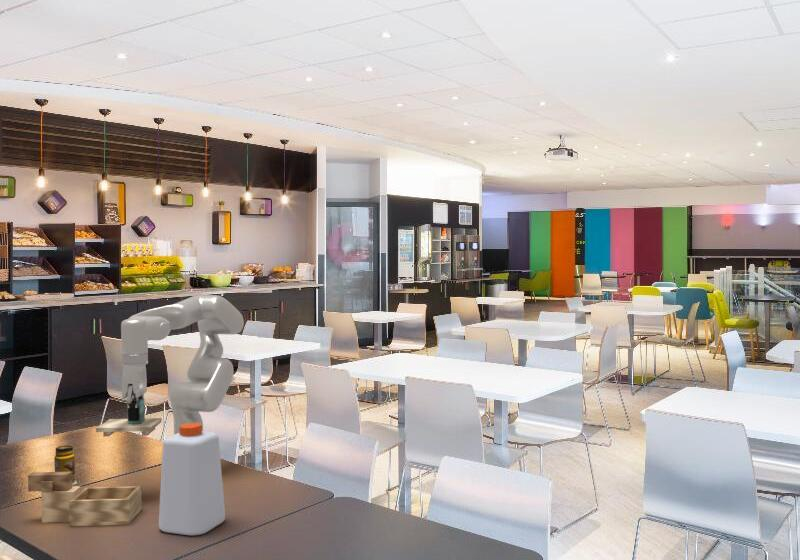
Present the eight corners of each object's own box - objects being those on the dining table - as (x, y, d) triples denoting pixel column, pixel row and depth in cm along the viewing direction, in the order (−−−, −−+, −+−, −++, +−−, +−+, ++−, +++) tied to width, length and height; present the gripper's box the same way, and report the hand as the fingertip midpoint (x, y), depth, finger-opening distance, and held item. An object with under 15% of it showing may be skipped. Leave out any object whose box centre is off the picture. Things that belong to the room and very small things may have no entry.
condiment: (78, 483, 242) (77, 447, 242) (49, 488, 238) (48, 451, 237) (74, 478, 249) (73, 443, 248) (46, 482, 244) (45, 446, 244)
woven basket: (141, 509, 217) (140, 471, 217) (128, 524, 205) (127, 483, 205) (54, 512, 216) (53, 473, 215) (36, 527, 204) (35, 485, 203)
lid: (161, 427, 232) (161, 395, 232) (150, 436, 220) (150, 403, 220) (109, 428, 231) (109, 396, 231) (96, 438, 219) (95, 404, 219)
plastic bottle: (231, 519, 209) (229, 420, 208) (200, 538, 194) (198, 433, 193) (185, 513, 213) (184, 417, 212) (152, 532, 199) (150, 429, 198)
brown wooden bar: (72, 487, 211) (72, 471, 211) (68, 490, 208) (67, 474, 208) (33, 488, 211) (32, 472, 211) (28, 491, 208) (27, 475, 208)
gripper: (131, 355, 233) (132, 413, 234) (113, 363, 217) (114, 425, 217) (155, 355, 234) (156, 412, 234) (139, 363, 217) (140, 425, 218)
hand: (136, 418), depth 226 cm, fingers closed on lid, 4 cm apart
